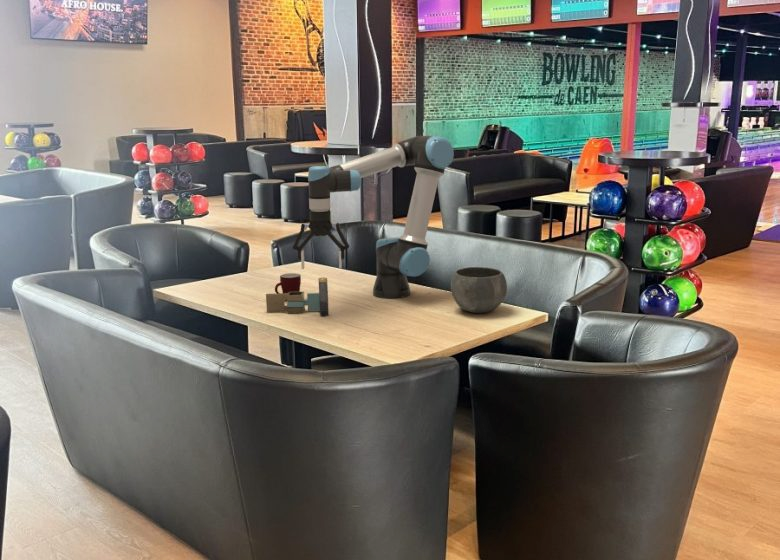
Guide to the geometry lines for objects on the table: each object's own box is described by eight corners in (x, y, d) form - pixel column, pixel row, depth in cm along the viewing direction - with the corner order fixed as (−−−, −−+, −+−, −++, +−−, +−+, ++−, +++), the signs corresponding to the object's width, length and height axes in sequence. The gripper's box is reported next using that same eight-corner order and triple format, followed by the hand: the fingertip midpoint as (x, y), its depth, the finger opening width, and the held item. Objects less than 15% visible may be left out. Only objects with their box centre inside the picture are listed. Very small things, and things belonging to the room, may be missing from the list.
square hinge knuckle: (304, 309, 294) (304, 291, 292) (303, 313, 288) (302, 295, 287) (268, 310, 294) (267, 292, 292) (266, 314, 288) (264, 296, 287)
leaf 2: (287, 313, 288) (286, 295, 287) (289, 308, 294) (288, 291, 292) (324, 312, 288) (324, 294, 287) (326, 308, 294) (325, 291, 292)
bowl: (441, 307, 293) (441, 268, 290) (489, 301, 300) (490, 263, 297) (465, 321, 274) (465, 280, 271) (516, 314, 282) (517, 274, 278)
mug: (281, 304, 302) (279, 279, 299) (272, 300, 308) (270, 275, 306) (305, 300, 307) (304, 275, 305) (296, 296, 314) (294, 272, 312)
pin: (328, 314, 287) (327, 277, 284) (328, 316, 284) (326, 279, 281) (320, 314, 287) (318, 277, 284) (319, 316, 284) (318, 279, 281)
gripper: (355, 208, 280) (356, 265, 285) (286, 208, 280) (288, 266, 285) (354, 211, 273) (355, 269, 278) (283, 211, 273) (286, 270, 277)
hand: (321, 268), depth 281 cm, fingers open, 13 cm apart
